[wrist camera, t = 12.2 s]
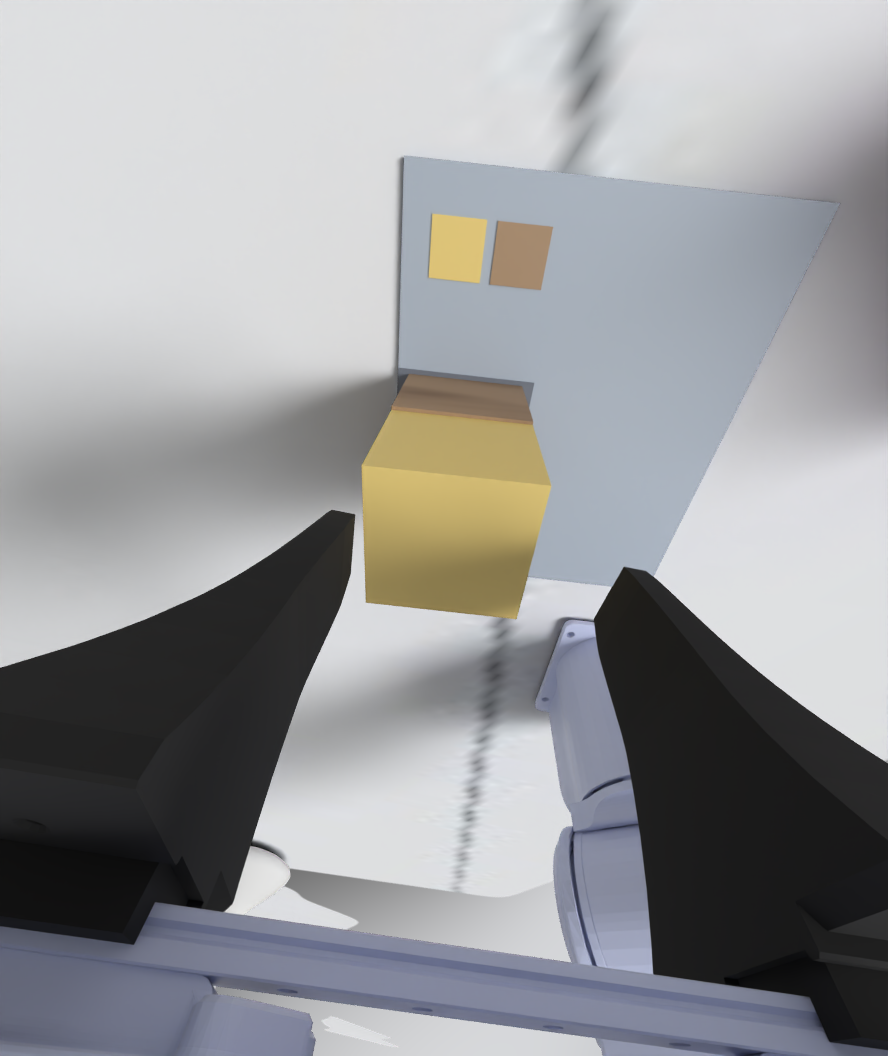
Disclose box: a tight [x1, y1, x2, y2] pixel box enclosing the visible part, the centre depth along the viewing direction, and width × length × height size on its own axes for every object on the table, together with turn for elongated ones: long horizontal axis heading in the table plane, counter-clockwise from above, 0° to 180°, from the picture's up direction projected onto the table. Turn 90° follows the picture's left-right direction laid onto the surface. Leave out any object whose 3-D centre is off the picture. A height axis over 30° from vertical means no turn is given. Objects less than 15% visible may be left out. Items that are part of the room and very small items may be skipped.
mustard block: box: [362, 410, 551, 619], centre depth 14 cm, size 5×5×4 cm
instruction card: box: [397, 156, 840, 587], centre depth 19 cm, size 18×15×1 cm
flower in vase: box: [213, 846, 290, 990], centre depth 43 cm, size 13×11×25 cm
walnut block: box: [391, 374, 533, 425], centre depth 18 cm, size 5×5×4 cm
